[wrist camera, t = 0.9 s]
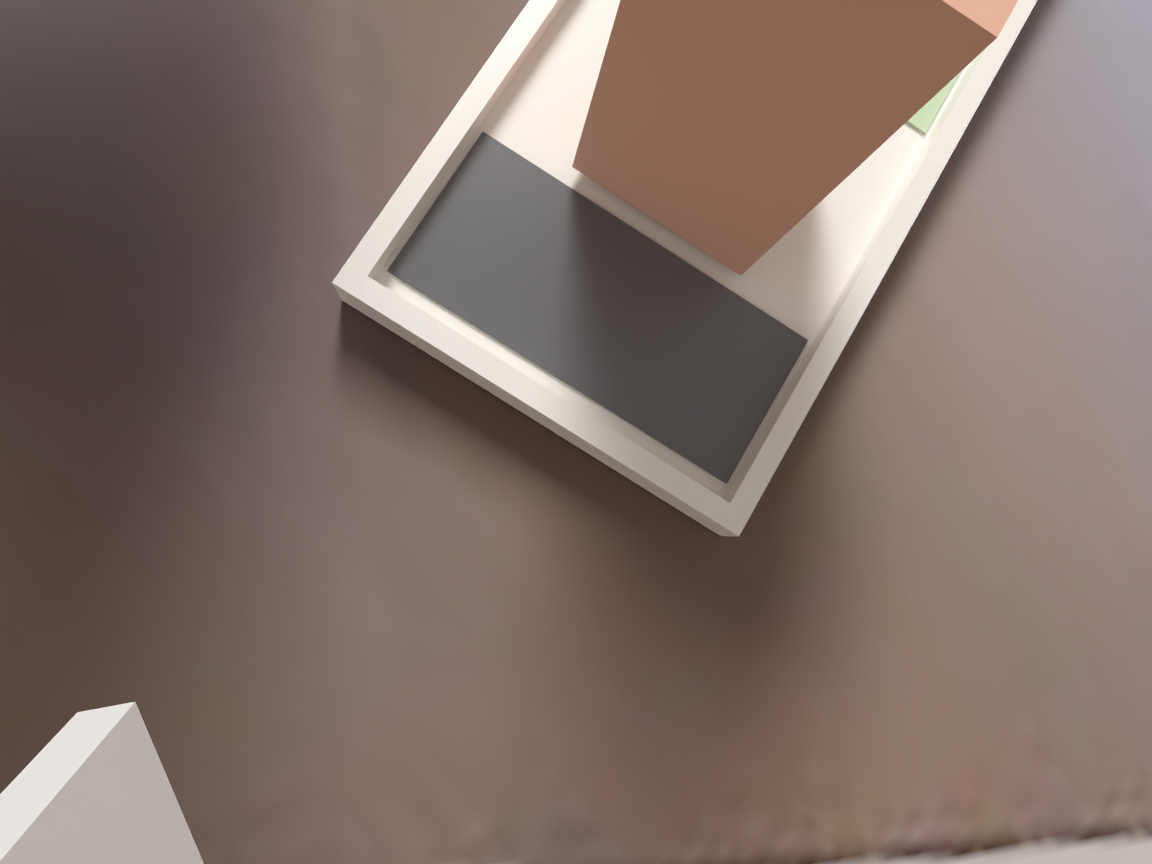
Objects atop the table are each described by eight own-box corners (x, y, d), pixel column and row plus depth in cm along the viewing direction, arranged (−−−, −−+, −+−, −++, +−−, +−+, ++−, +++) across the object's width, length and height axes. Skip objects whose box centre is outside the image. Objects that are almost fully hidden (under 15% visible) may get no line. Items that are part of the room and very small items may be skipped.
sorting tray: (341, 299, 28) (331, 282, 26) (778, -331, 34) (798, -385, 32) (720, 536, 29) (738, 536, 27) (1087, -118, 34) (1124, -157, 32)
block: (572, 167, 28) (673, -181, 14) (658, 35, 29) (828, -406, 15) (741, 275, 29) (997, 37, 15) (820, 142, 30) (1129, -197, 16)
